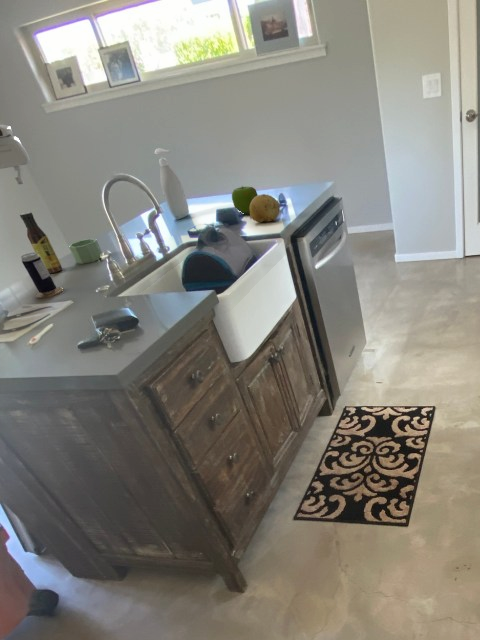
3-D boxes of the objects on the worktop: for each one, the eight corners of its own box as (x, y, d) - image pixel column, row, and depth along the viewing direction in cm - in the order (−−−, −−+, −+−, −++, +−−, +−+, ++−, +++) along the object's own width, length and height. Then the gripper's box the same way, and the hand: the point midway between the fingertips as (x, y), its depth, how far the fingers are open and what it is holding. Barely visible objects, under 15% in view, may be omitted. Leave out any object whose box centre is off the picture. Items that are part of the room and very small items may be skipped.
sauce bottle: (58, 273, 195) (28, 214, 182) (43, 275, 196) (11, 216, 182) (66, 267, 200) (37, 210, 187) (51, 269, 201) (21, 212, 187)
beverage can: (54, 288, 180) (34, 251, 172) (60, 290, 176) (40, 253, 168) (38, 293, 177) (17, 256, 169) (43, 296, 174) (22, 258, 166)
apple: (233, 217, 229) (225, 189, 222) (243, 211, 237) (235, 183, 230) (255, 215, 227) (248, 187, 219) (265, 209, 234) (258, 181, 227)
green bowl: (75, 265, 201) (67, 248, 197) (79, 258, 208) (72, 242, 204) (101, 260, 202) (93, 243, 198) (104, 253, 209) (97, 237, 205)
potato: (257, 219, 221) (250, 193, 214) (285, 217, 218) (279, 190, 211) (249, 226, 213) (242, 199, 207) (277, 224, 211) (271, 196, 204)
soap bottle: (183, 220, 237) (159, 150, 219) (168, 222, 239) (143, 152, 220) (198, 212, 247) (176, 144, 229) (183, 213, 249) (160, 146, 231)
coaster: (33, 300, 173) (32, 299, 173) (39, 291, 180) (38, 290, 180) (60, 294, 174) (60, 293, 174) (65, 286, 181) (65, 285, 181)
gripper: (-64, 140, 149) (-32, 194, 158) (9, 127, 151) (36, 182, 160) (-56, 137, 153) (-26, 191, 163) (15, 125, 156) (41, 179, 165)
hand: (6, 186), depth 162 cm, fingers open, 8 cm apart
